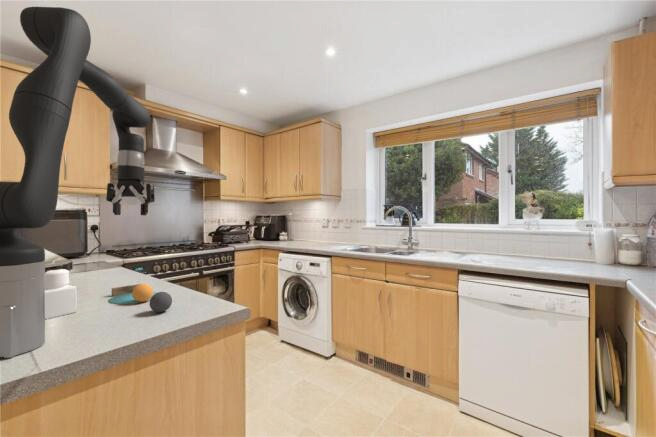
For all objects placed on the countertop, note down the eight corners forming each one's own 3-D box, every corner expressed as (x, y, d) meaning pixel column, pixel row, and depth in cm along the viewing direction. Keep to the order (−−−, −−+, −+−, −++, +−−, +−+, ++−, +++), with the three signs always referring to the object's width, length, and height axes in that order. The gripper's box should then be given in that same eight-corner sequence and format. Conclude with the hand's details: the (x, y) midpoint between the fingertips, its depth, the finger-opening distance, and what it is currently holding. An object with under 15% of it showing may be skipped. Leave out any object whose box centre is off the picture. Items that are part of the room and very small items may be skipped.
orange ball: (148, 304, 91) (148, 285, 91) (128, 304, 90) (128, 286, 90) (156, 298, 96) (156, 281, 96) (137, 299, 95) (137, 282, 95)
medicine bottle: (31, 315, 80) (30, 270, 79) (64, 308, 86) (64, 266, 86) (43, 320, 76) (43, 273, 76) (77, 312, 83) (77, 268, 82)
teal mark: (149, 303, 92) (149, 302, 92) (98, 304, 89) (98, 304, 89) (166, 291, 105) (166, 290, 105) (122, 292, 103) (122, 292, 103)
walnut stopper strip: (142, 290, 106) (142, 283, 106) (143, 291, 105) (143, 284, 105) (111, 295, 99) (111, 288, 99) (112, 296, 98) (112, 288, 98)
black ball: (167, 314, 82) (168, 294, 82) (145, 315, 81) (145, 294, 81) (174, 308, 87) (174, 289, 87) (154, 309, 86) (154, 289, 86)
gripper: (101, 163, 96) (100, 214, 96) (146, 164, 96) (145, 215, 96) (116, 167, 104) (116, 215, 103) (159, 168, 104) (158, 215, 104)
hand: (130, 215), depth 100 cm, fingers open, 8 cm apart
